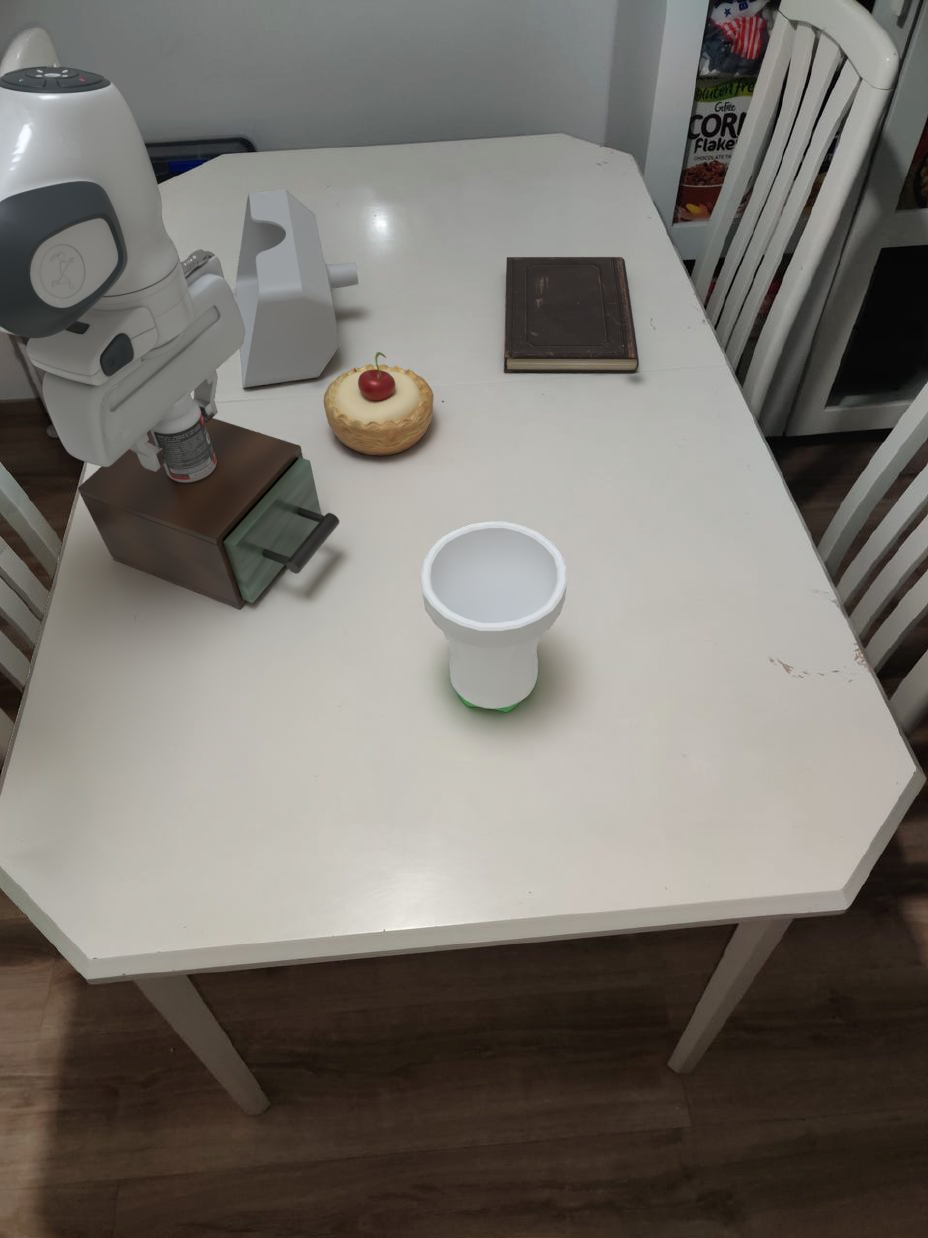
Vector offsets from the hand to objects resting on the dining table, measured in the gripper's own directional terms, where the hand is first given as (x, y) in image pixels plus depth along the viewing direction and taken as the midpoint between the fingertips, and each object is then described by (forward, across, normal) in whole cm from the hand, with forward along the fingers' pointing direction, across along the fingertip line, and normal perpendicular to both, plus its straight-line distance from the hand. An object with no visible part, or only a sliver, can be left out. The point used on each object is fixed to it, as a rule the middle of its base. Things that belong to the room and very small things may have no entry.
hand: (181, 440), depth 79 cm
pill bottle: (+3, 0, 0) cm, 3 cm away
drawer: (+12, 0, +4) cm, 12 cm away
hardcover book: (+13, -51, +18) cm, 56 cm away
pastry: (+13, -22, +7) cm, 26 cm away
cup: (+13, +4, +33) cm, 36 cm away
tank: (+13, -36, -13) cm, 40 cm away
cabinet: (+13, 0, 0) cm, 13 cm away
